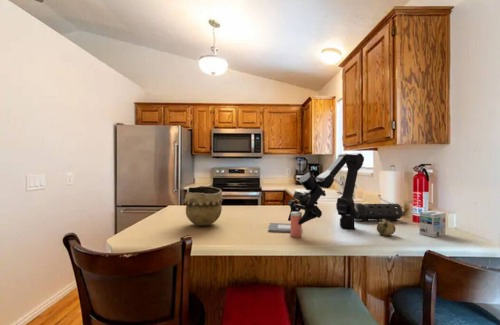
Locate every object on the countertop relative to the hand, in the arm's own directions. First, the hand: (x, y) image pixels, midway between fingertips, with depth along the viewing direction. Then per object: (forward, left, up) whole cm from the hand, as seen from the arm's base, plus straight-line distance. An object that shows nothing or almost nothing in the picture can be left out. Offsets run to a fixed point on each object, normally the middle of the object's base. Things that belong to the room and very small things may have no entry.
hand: (293, 222), depth 122 cm
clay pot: (+46, -13, -7) cm, 49 cm away
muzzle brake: (-49, -41, -7) cm, 64 cm away
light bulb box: (-67, -15, -7) cm, 69 cm away
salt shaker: (-1, -1, -7) cm, 7 cm away
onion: (-44, -10, -7) cm, 45 cm away
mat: (+4, -13, -7) cm, 15 cm away
